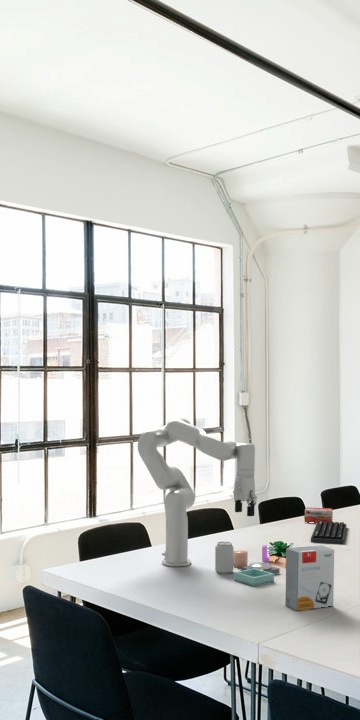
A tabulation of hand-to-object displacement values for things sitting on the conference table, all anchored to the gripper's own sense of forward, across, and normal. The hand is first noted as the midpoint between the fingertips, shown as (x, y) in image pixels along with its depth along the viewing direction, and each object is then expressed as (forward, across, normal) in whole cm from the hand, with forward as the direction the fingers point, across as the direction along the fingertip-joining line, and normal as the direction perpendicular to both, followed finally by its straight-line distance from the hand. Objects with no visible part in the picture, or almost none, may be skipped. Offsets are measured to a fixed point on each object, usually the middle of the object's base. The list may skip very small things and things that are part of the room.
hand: (244, 514), depth 300 cm
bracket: (+24, -14, +23) cm, 36 cm away
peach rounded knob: (+24, -7, +3) cm, 25 cm away
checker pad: (+21, +6, +5) cm, 23 cm away
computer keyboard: (+24, -47, +81) cm, 97 cm away
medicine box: (+24, -78, +97) cm, 126 cm away
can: (+24, -2, -8) cm, 25 cm away
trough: (+23, +16, -5) cm, 29 cm away
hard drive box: (+23, +52, -4) cm, 57 cm away
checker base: (+23, +6, +5) cm, 24 cm away
